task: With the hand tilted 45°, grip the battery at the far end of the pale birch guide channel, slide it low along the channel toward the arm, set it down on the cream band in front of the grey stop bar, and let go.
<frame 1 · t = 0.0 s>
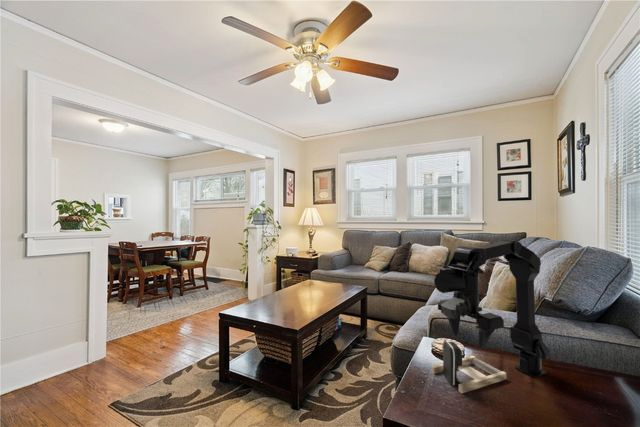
hand: (467, 341, 88), 15 cm above the table, tool pointing down, fingers open, 9 cm apart
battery: (452, 380, 94), on the table
guide channel: (469, 375, 96), on the table
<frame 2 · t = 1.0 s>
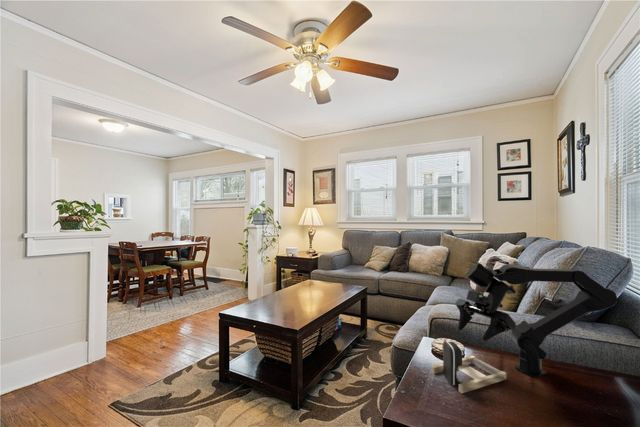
hand: (470, 334, 96), 13 cm above the table, tool tilted 45°, fingers open, 9 cm apart
nothing on the table moved.
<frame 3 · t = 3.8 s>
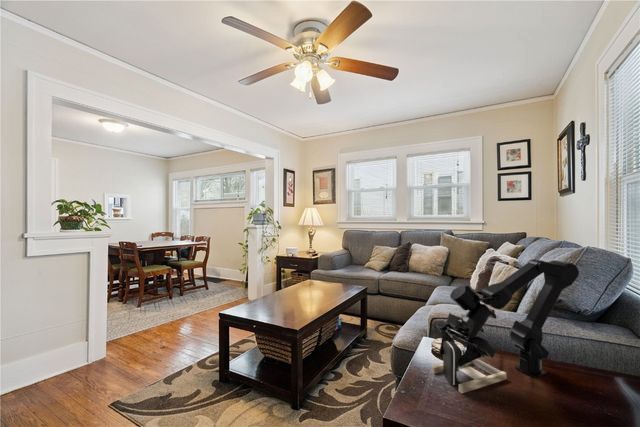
hand: (449, 359, 93), 7 cm above the table, tool tilted 45°, fingers closed on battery, 7 cm apart
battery: (452, 380, 94), on the table, touching gripper
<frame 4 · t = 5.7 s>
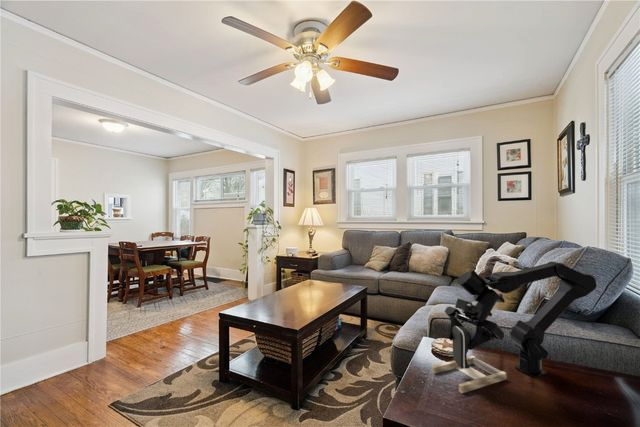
hand: (459, 344, 94), 11 cm above the table, tool tilted 45°, fingers closed on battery, 7 cm apart
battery: (462, 364, 95), point 4 cm above the table, touching gripper
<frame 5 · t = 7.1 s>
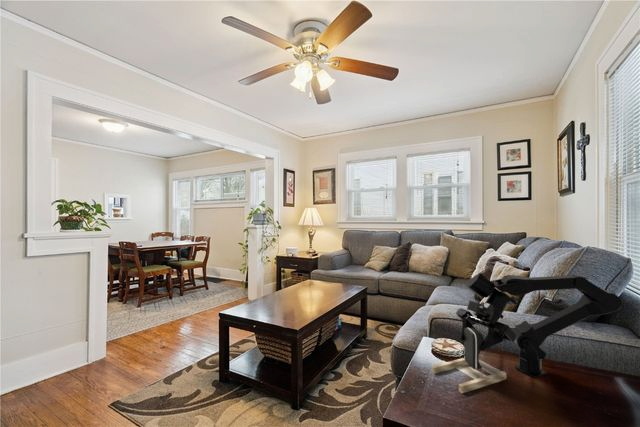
hand: (470, 345, 96), 10 cm above the table, tool tilted 45°, fingers closed on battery, 7 cm apart
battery: (474, 365, 97), point 3 cm above the table, touching gripper
when the fingers open (8 cm above the table, at t = 8.0 s): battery moves 1 cm, resting on guide channel.
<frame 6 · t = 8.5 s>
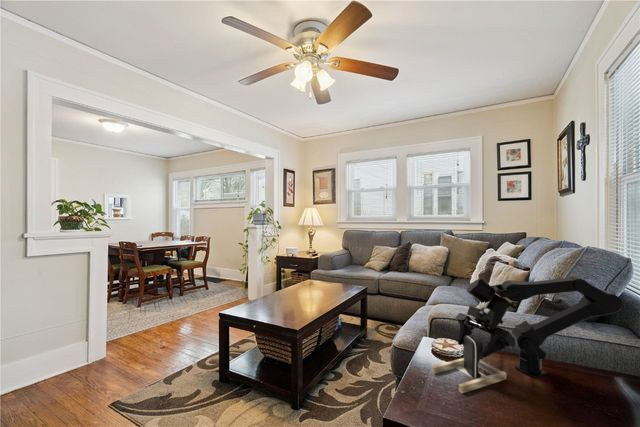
hand: (470, 350, 96), 8 cm above the table, tool tilted 45°, fingers open, 9 cm apart
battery: (473, 373, 97), resting on guide channel
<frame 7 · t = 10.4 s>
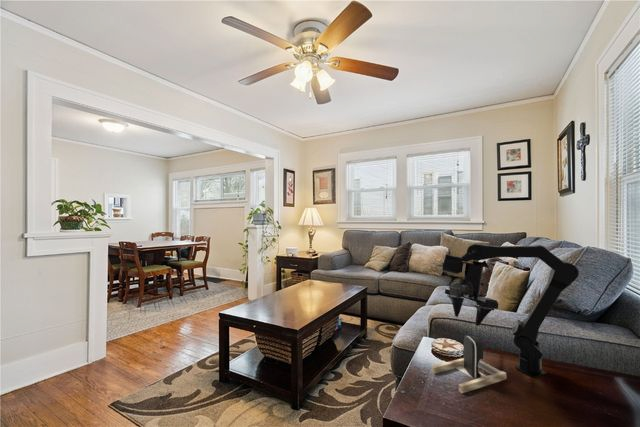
hand: (466, 320, 106), 14 cm above the table, tool pointing down, fingers open, 9 cm apart
nothing on the table moved.
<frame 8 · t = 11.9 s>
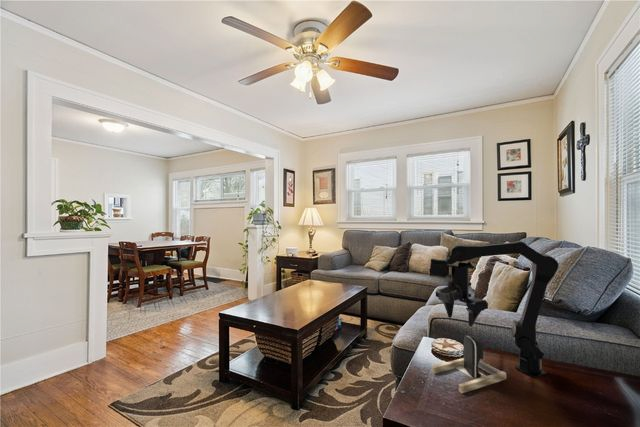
hand: (459, 321, 108), 13 cm above the table, tool pointing down, fingers open, 9 cm apart
nothing on the table moved.
at the end: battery 0.2 cm from the target spot, resting on guide channel; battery tilted 0°; the gripper is holding nothing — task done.
